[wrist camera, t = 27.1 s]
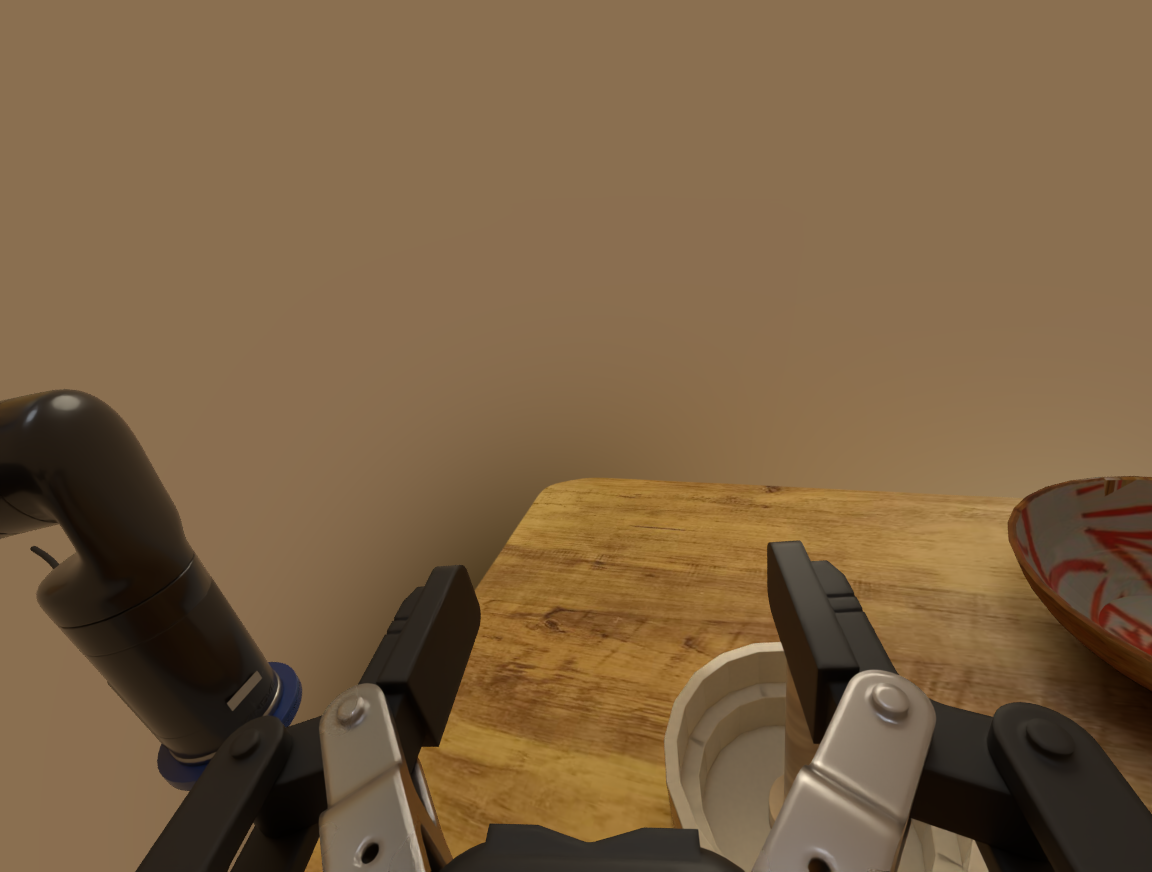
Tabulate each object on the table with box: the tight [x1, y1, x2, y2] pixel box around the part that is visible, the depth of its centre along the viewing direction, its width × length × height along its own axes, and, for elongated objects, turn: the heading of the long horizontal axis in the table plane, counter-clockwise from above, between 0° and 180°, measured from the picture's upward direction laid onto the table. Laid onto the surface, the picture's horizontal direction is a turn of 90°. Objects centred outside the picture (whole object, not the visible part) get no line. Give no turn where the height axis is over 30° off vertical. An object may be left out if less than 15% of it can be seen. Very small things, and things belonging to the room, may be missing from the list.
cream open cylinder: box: [664, 642, 989, 872], centre depth 30 cm, size 17×17×8 cm
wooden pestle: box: [769, 663, 820, 829], centre depth 28 cm, size 4×4×18 cm
